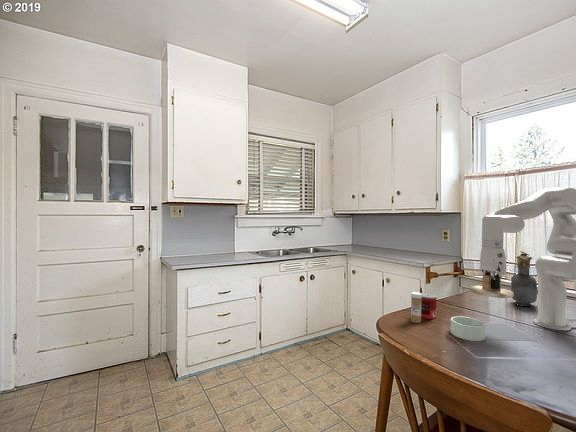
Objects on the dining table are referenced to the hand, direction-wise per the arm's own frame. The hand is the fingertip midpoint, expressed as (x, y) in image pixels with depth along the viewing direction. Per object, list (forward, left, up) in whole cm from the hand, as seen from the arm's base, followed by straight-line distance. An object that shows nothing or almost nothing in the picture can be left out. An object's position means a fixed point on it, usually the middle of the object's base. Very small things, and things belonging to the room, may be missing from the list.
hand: (491, 287), depth 121 cm
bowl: (+12, +3, -20) cm, 23 cm away
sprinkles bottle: (+27, -12, -20) cm, 35 cm away
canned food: (+19, -18, -20) cm, 33 cm away
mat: (-3, -1, -20) cm, 20 cm away
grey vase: (-44, -41, -20) cm, 64 cm away
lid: (0, 0, -2) cm, 2 cm away
